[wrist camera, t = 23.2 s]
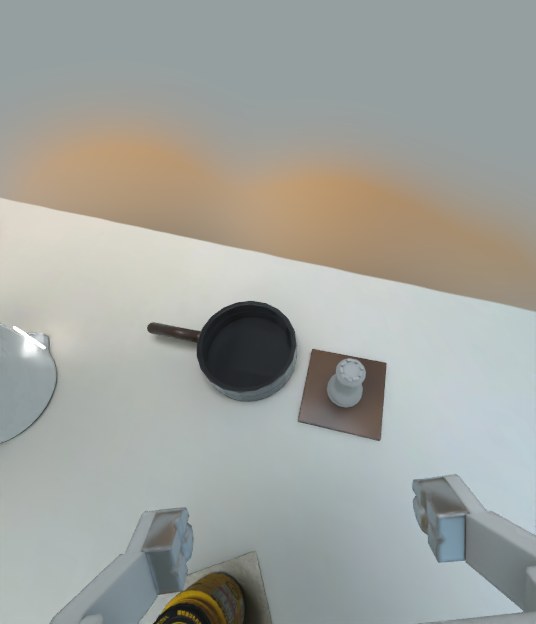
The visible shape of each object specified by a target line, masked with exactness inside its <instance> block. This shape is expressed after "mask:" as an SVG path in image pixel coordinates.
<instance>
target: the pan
mask: <svg viewBox="0 0 536 624" xmlns="http://www.w3.org/2000/svg"><path fill="white" fill-rule="evenodd" d="M197 358H198V361H199V365H200V368H201V370H202V371H203V373H204V374H205V375H206V377H207V378H208V379H209V381H210V382H211V383H212V384H213V386H214V387H215V388H216V390H218V391H219V392H221V393H222V394H224V395H225V396H227V397H229V398H232V399H235V400H240V401H255V400H260V399H263V398H266V397H268V396H270V395H272V394H274V393H275V392H277V391H278V390H280V389H281V388H282V387H283V386H284V385H285V383H286V382H287V381H288V380H289V378H290V376H291V375H292V372H293V371H294V367H295V363H296V358H297V349H296V338H295V331H294V329H293V327H292V325H291V323H290V321H289V319H288V318H287V317H286V316H285V315H284V314H283V313H282V312H281V311H280V310H278V309H277V308H275V307H272V306H270V305H268V304H266V303H261V302H255V301H246V302H238V303H235V304H232V305H229V306H227V307H224V308H222V309H221V310H220V311H218V312H217V313H216V314H214V315H213V316H212V317H211V318H210V319H209V320H208V322H207V323H206V324H205V326H204V327H203V328H202V331H201V334H200V336H199V339H198V341H197Z"/></svg>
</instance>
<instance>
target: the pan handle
mask: <svg viewBox="0 0 536 624" xmlns="http://www.w3.org/2000/svg"><path fill="white" fill-rule="evenodd" d="M147 330H148V332H150V333H152V334H157V335H162V336H167V337H172V338H177V339H182V340H187V341H192V342H197V341H198V339H199V336H200V334H201V331H196V330H190V329H185V328H180V327H175V326H170V325H164V324H159V323H150V324H149V325H148V327H147Z"/></svg>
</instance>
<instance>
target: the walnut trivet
mask: <svg viewBox="0 0 536 624" xmlns="http://www.w3.org/2000/svg"><path fill="white" fill-rule="evenodd" d="M349 358H351V359H356V360H358V361H359V362H360V363H361V364H362V365H363V366H364V368H365V371H366V376H365V379H364V381H363V382H362V383H361V384H362V387H363V391H362V397H361V399H360V400H359V402H358V403H357V404H355V405H354V406H352V407H346V408H345V407H341V406H338V405H336V404H335V403H333V402H332V401H331V399H330V398H329V396H328V393H327V385H328V382H329V380H330V379H331V377H332V376H333V375H335V374H336V367H337V365H338V364H339V362H341V361H342V360H344V359H349ZM385 375H386V363H384V362H379V361H373V360H368V359H363V358H357V357H352V356H347V355H342V354H336V353H331V352H326V351H320V350H315V349H312V353H311V358H310V363H309V368H308V373H307V378H306V383H305V388H304V393H303V398H302V403H301V408H300V413H299V418H298V422H302V423H307V424H311V425H315V426H319V427H324V428H328V429H332V430H336V431H340V432H345V433H349V434H353V435H357V436H362V437H366V438H370V439H374V440H378V441H380V438H381V426H382V413H383V400H384V388H385Z"/></svg>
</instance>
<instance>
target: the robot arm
mask: <svg viewBox="0 0 536 624" xmlns="http://www.w3.org/2000/svg"><path fill="white" fill-rule="evenodd" d="M13 328H14V329H15V330H17V331H18V332H20V333H18V332H16V331H15V330H13V329H11V328H9V327H7V326H5V325H3V324H1V323H0V443H2V442H5V441H7V440H9V439H11V438H13V437H15V436H17V435H18V434H20V433H21V432H22V431H24V430H25V429H26V428H28V427H29V426H30V425H31V424H32V423H33V422H34V421H35V420H36V419H37V418H38V417H39V415H40V414H41V413H42V412H43V410H44V409H45V407H46V406H47V404H48V402H49V400H50V398H51V396H52V394H53V391H54V388H55V384H56V366H55V363H54V361H53V359H52V357H51V356H50V354H49V351H48V350H49V340H48V337H47V336H46V335H44V334H42V333H24V332H23V331H21V330H20V329H18V328H17V327H15V326H14V327H13ZM412 489H413V491H414V493H415V495H416V496H415V498H414V499H413V508H414V512H415V516H416V519H417V522H418V524H419V526H420V528H421V530H422V531H423V532H424V533H426V534H427V535H428V544H429V546H430V548H431V550H432V551H433V553H434V555H435V557H436V559H437V561H438V563H440V562H453V561H465V560H466V563H467V564H469V565H470V566H471V567H472V568H473V569H475V570H476V571H477V572H478V573H479V574H480V575H482V576H483V577H484V578H485V579H486V580H488V581H489V582H490V583H491V584H492V585H494V586H495V587H496V588H497V589H498V590H499V591H501V592H502V593H503V594H504V595H505V596H507V597H508V598H509V599H510V600H511V601H513V602H514V603H515V604H516V605H517V606H518V607H520V608H521V609H522V610H523V612H522V613H513V614H503V615H494V616H484V617H475V618H466V619H456V620H447V621H437V622H428V623H418V624H536V536H535V535H534V534H532V533H530V532H528V531H527V530H525V529H523V528H521V527H519V526H518V525H516V524H514V523H512V522H510V521H509V520H507V519H505V518H503V517H501V516H500V515H498V514H496V513H494V512H492V511H490V512H487V510H486V509H485V508H484V507H483V505H482V504H481V503H480V502H479V500H478V499H477V498H476V497H475V495H474V494H473V493H472V492H471V490H470V489H469V488H468V487H467V485H466V484H465V483H464V481H463V480H462V479H461V478H460V476H458V475H457V474H454V475H446V476H442V477H441V476H440V477H432V478H424V479H416V480H413V483H412ZM188 518H189V514H188V510H187V508H185V507H184V508H173V509H162V510H155V511H145V512H144V513H143V514H142V515H141V518H140V520H139V522H138V524H137V527H136V529H135V531H134V533H133V536H132V538H131V540H130V542H129V545H128V547H127V549H126V551H125V554H120V555H119V556H118V557H117V558H116V559H115V560H114V561H113V562H112V563H111V564H110V565H108V566H107V567H106V568H105V569H104V570H103V571H102V572H101V573H100V574H99V575H98V576H97V577H96V578H95V579H94V580H93V581H91V582H90V583H89V584H88V585H87V586H86V587H85V588H84V589H83V590H82V591H81V592H80V593H79V594H78V595H77V596H76V597H74V598H73V599H72V600H71V601H70V602H69V603H68V604H67V605H66V606H65V607H64V608H63V609H62V610H61V611H60V612H58V613H57V614H56V615H55V616H54V617H53V619H52V620H51V622H50V624H138V623H139V622H140V621H141V619H142V618H143V616H144V615H145V614H146V612H147V611H148V609H149V608H150V607H151V605H152V604H153V602H154V601H155V600H156V598H157V597H158V596H157V595H160V594H167V593H174V592H181V591H183V589H184V585H185V581H186V577H187V572H188V569H187V564H186V563H187V561H188V560H189V559H190V558H191V555H192V550H193V530H192V526H191V525H190V524H189V523H187V522H188Z"/></svg>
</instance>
